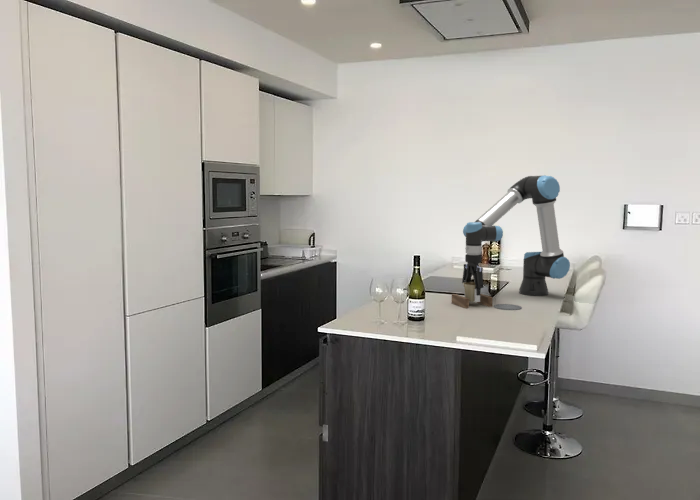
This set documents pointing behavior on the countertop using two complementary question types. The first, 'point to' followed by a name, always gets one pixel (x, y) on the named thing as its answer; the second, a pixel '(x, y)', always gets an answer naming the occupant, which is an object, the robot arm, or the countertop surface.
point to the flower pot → (469, 290)
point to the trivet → (507, 306)
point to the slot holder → (464, 301)
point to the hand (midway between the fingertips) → (472, 300)
